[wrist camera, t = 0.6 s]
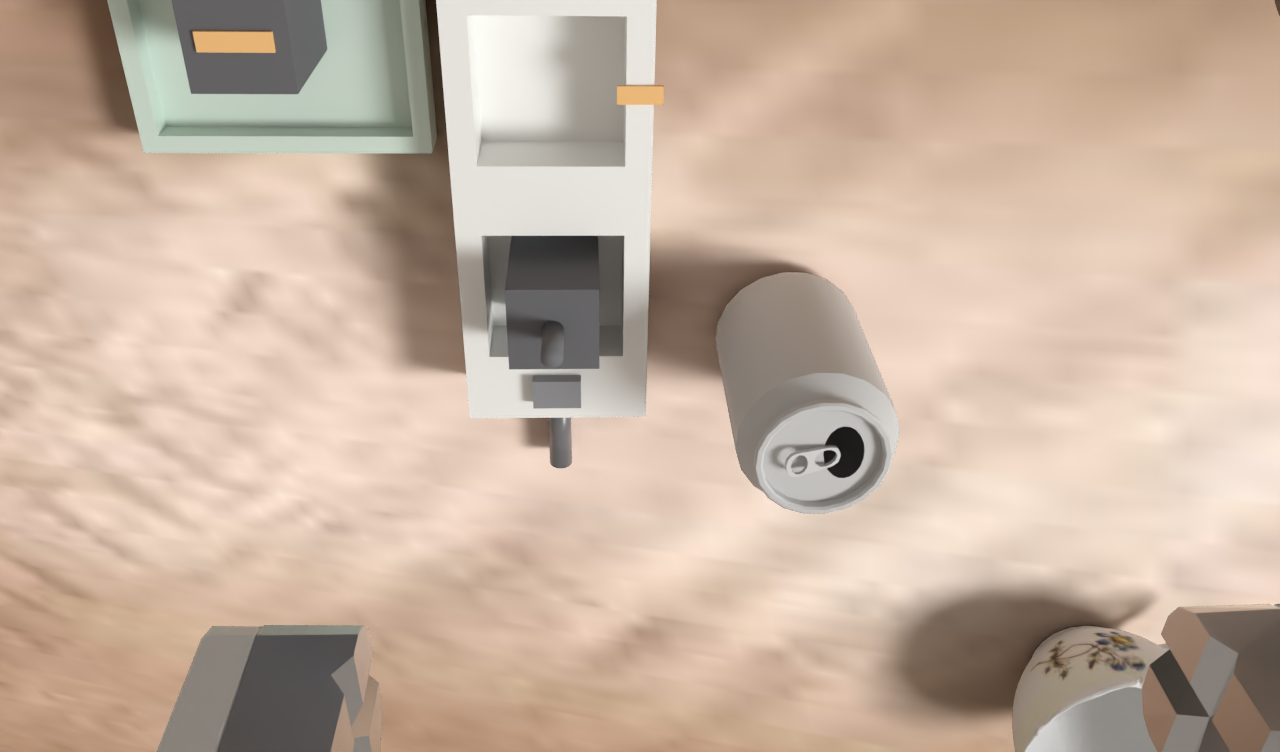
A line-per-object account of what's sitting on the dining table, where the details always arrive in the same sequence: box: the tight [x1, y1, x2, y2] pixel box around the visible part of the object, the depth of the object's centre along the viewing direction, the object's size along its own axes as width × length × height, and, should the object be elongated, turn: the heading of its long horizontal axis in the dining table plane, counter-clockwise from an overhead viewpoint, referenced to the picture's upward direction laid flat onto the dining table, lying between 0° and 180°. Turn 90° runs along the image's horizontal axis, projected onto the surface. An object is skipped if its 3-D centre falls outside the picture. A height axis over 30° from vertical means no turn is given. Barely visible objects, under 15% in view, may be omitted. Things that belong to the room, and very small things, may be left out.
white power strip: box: [436, 0, 664, 468], centre depth 53 cm, size 29×9×5 cm, turn 179°
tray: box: [107, 0, 437, 153], centre depth 48 cm, size 13×13×2 cm
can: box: [715, 272, 900, 514], centre depth 54 cm, size 8×8×12 cm
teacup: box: [1012, 626, 1169, 752], centre depth 70 cm, size 15×12×8 cm
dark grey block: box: [172, 0, 327, 94], centre depth 45 cm, size 4×4×6 cm
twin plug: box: [505, 236, 599, 369], centre depth 52 cm, size 4×4×8 cm
